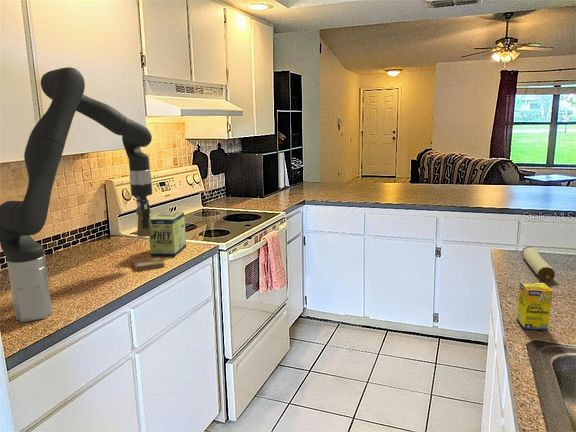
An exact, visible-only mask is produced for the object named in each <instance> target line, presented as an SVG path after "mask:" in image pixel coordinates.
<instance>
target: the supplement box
mask: <svg viewBox="0 0 576 432" xmlns="http://www.w3.org/2000/svg"><path fill="white" fill-rule="evenodd" d="M518 293H519V294H518V299H517V300H518V301H517V310H516V321H517V323H518V324H519V325H520V327H521V328H522V329H523V330H525V331H527V330H528V331H529V330H530V331H531V330H533V331H543V332H548V331H549V324H550V323H549V322H550V315H551V307H552V306H551V305H552V298H553V290H552V289H551V288H550V287H549V286H548V285H547V284H546V283H545V282H524V281H520V282H519V291H518Z"/></svg>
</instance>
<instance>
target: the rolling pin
mask: <svg viewBox="0 0 576 432" xmlns="http://www.w3.org/2000/svg"><path fill="white" fill-rule="evenodd" d="M521 256H522V257H523V258H524V260H525V261H526V263H527V264H528V265H529V267H530V268H531V269H532V270H533V272H534V273H535V274H537V277H538V278H539V279H540V281H542V282H552V281H553V280H554V278H555V277H556V274H555V272H556V270H555V269H554V268H553V267H552V266H551V265H549V264H548V263H547V262H546V261H545V260H544V259H543V257H542V255H540V253H539V250H538V249H537V248H534V247H532V246H525V247H524V248H523V249H522V251H521Z"/></svg>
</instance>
